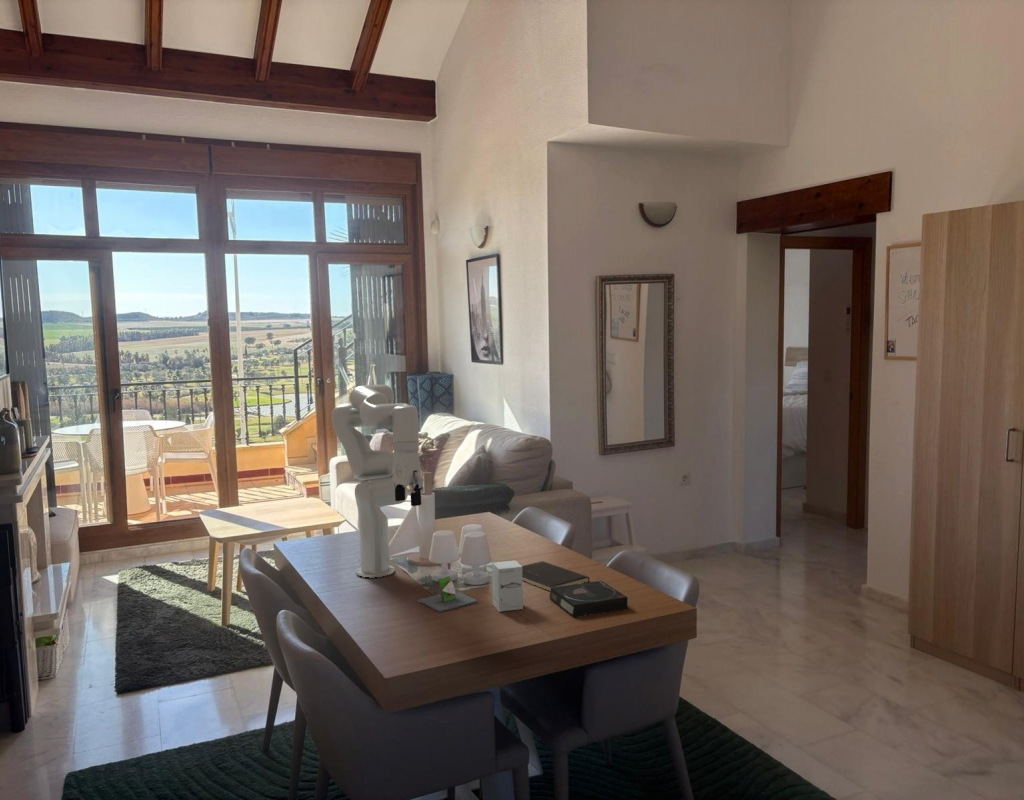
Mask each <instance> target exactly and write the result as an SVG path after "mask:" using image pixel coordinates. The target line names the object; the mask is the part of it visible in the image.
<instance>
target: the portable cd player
mask: <svg viewBox="0 0 1024 800" xmlns="http://www.w3.org/2000/svg"><path fill="white" fill-rule="evenodd" d="M548 598H549V600H550V601H552V603H554V602H555V603H554V604H555V605H557V606H558V607H559V606H560V607H559V608H561V609H562V610H563V611H565V612H566V613H567V614H568V613H569V614H568V615H570V616H571V617H572V616H573V617H572V618H579V617H578V616H581V617H585V616H584V615H587V616H591V615H590V614H594V615H598V614H597V613H600V614H603V613H602V612H606V613H611V612H610V611H613V612H616V611H615V610H619V611H624V610H623V609H626V610H628V609H629V608H628V596H626V595H625V594H624V593H622V592H620V591H619V590H618V589H615V588H614V587H612V586H611V585H609V584H608V583H606V582H604V581H603V580H598V581H597V580H596V581H589V582H585V583H581V584H574V585H567V586H560V587H553V588H551V591H549V597H548Z"/></svg>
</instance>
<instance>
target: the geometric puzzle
mask: <svg viewBox="0 0 1024 800" xmlns="http://www.w3.org/2000/svg"><path fill="white" fill-rule="evenodd" d="M452 579H453V578H450V576H445V577H442V578H439V579H437V582H438V583H437V586H438V589H439V591H438V592H439V593H440V594H441V598H442V599H444V600H443V602H446V601H449V600H452V599H455V596H454V595H455V591H458V590H459V588H460V584H457V582H455V584H457V585H454V581H453V580H452ZM456 587H457V590H456ZM436 593H437V591H434V592H433V595H434V594H435V595H438V594H436ZM435 595H434V596H435Z"/></svg>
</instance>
